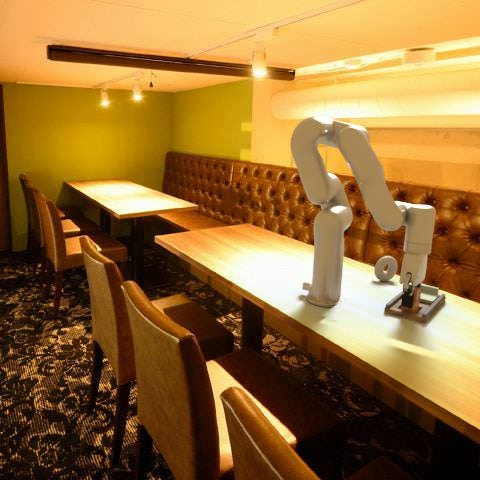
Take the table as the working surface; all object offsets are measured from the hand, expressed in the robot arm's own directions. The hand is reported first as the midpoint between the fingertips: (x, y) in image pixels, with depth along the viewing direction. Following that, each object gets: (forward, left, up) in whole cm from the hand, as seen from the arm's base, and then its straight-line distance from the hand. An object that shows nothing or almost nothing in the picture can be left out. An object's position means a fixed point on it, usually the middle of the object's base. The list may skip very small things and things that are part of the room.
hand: (410, 302), depth 133 cm
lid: (0, +11, -1) cm, 11 cm away
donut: (-18, +27, -5) cm, 33 cm away
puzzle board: (0, +6, -5) cm, 8 cm away
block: (0, 0, -3) cm, 3 cm away
